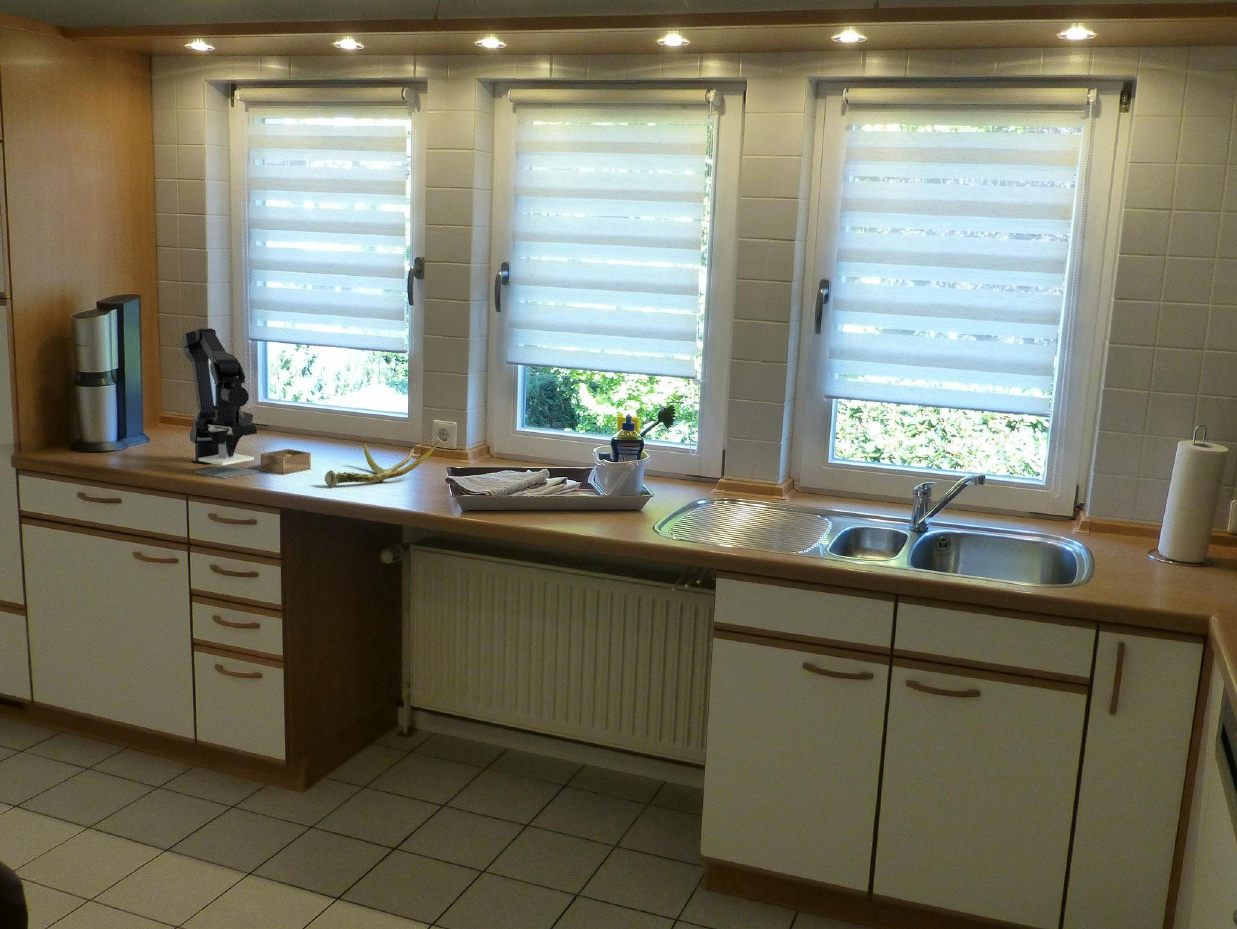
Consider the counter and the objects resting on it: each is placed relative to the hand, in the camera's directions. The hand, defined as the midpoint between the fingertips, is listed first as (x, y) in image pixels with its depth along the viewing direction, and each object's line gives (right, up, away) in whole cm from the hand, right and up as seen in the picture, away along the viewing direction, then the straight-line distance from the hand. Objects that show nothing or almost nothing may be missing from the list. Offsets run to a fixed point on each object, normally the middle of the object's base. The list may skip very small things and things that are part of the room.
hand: (226, 455), depth 313 cm
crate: (+14, -4, +9) cm, 17 cm away
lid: (0, -1, 0) cm, 1 cm away
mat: (0, -5, +1) cm, 5 cm away
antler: (+46, -7, +3) cm, 46 cm away
